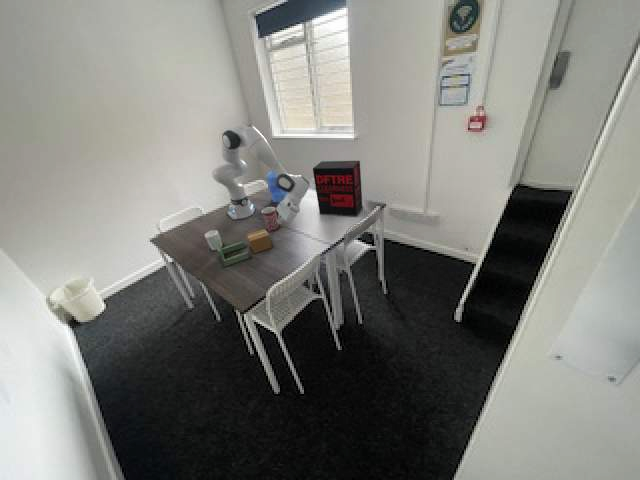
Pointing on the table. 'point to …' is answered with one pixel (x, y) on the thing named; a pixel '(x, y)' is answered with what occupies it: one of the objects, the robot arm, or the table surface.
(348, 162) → the product box
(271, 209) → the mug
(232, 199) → the robot arm
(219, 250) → the stand
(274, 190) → the water jug
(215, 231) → the white cup
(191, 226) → the table surface
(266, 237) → the parcel
